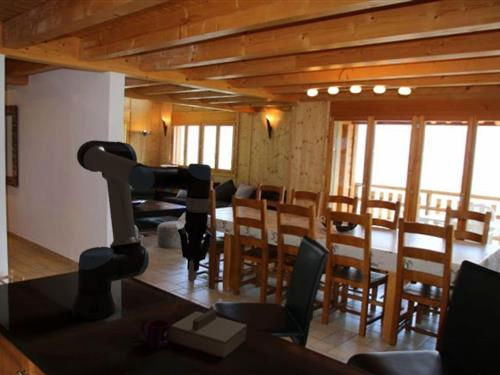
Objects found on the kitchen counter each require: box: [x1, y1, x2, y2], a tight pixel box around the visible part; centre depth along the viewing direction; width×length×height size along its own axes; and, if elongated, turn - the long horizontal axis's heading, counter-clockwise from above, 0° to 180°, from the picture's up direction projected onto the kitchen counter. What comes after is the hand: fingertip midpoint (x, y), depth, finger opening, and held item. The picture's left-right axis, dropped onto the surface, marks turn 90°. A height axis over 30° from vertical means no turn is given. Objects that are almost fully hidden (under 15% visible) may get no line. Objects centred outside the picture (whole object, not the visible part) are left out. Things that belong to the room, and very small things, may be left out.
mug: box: [141, 318, 170, 350], centre depth 140 cm, size 7×10×7 cm
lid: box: [170, 308, 248, 343], centre depth 144 cm, size 20×15×4 cm
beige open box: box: [169, 326, 248, 359], centre depth 144 cm, size 20×15×4 cm
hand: (192, 279), depth 146 cm, fingers closed
